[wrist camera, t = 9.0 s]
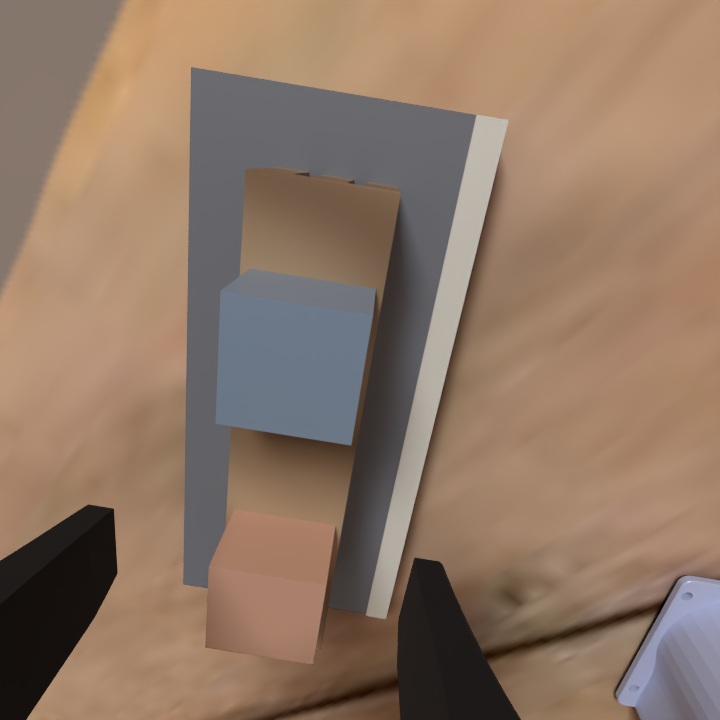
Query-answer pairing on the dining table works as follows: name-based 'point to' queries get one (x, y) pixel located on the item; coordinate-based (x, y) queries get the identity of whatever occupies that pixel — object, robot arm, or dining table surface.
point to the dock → (399, 303)
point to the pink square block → (268, 586)
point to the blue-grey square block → (292, 355)
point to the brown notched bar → (324, 262)
